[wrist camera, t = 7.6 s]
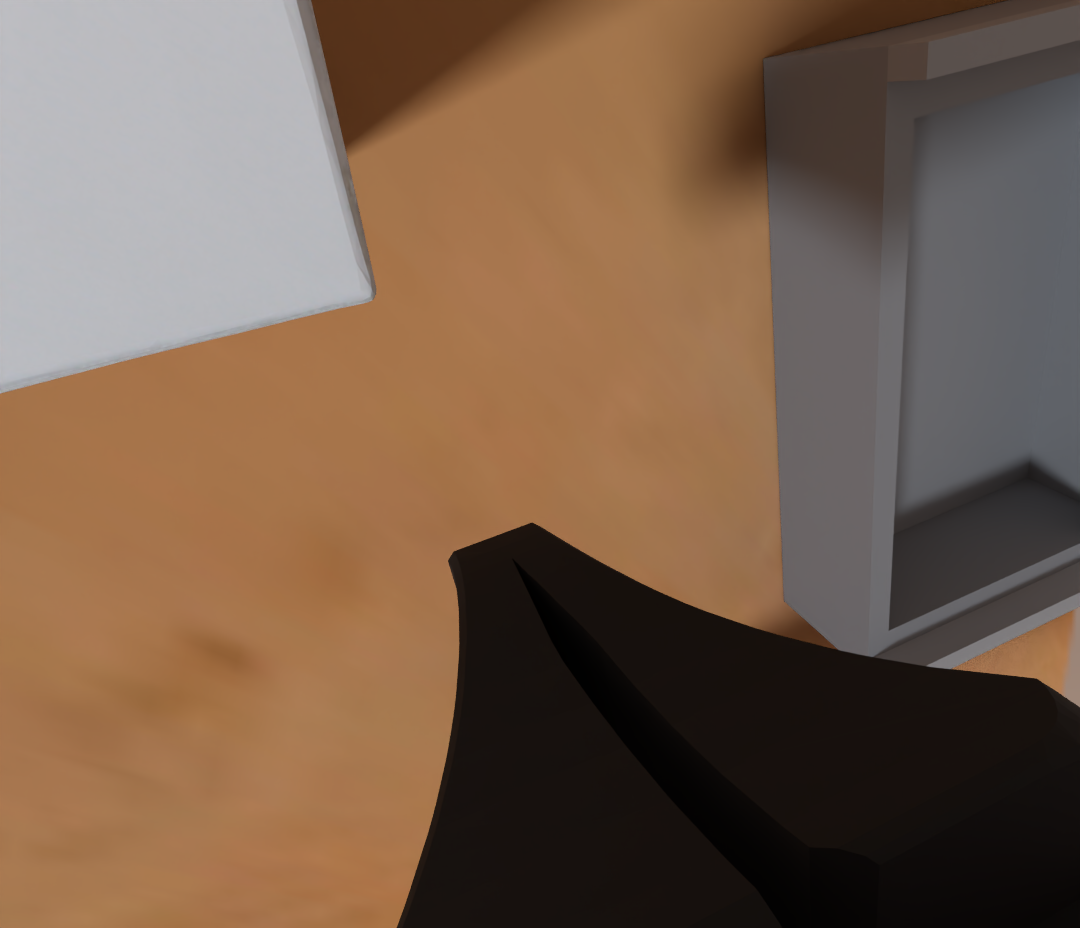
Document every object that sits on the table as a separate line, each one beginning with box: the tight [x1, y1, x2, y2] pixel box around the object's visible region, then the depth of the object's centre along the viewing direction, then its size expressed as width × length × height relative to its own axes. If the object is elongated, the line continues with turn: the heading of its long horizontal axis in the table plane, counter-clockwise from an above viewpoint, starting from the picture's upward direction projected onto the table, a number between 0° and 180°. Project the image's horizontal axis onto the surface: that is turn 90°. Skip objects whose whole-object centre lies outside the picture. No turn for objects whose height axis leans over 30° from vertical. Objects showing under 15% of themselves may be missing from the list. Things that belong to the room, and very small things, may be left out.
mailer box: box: [763, 0, 1080, 669], centre depth 23 cm, size 19×12×6 cm, turn 12°
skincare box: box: [0, 0, 376, 393], centre depth 11 cm, size 6×4×12 cm
